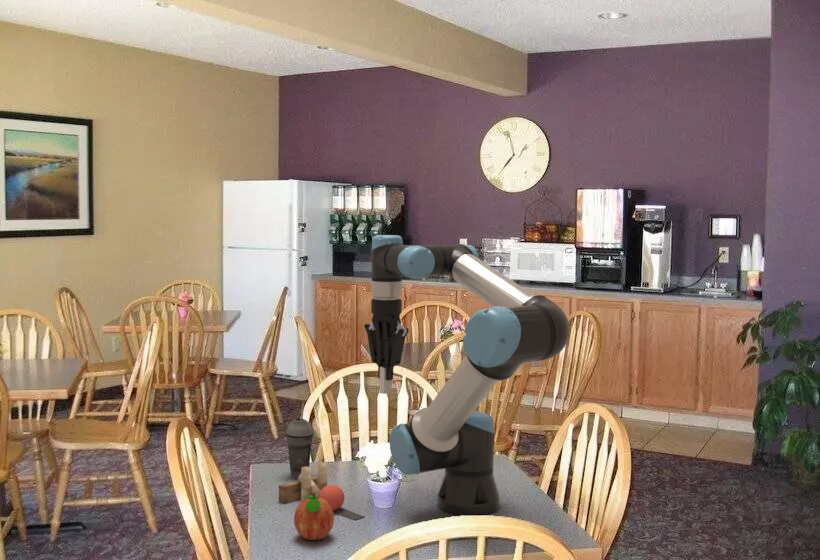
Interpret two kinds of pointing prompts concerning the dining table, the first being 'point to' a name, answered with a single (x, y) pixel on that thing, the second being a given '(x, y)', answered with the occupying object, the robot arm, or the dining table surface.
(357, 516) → the dark grey flat bar
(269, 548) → the dining table surface
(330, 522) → the fruit
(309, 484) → the pin
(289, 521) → the dining table surface
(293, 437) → the beverage cup
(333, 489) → the ball
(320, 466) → the pin
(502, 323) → the robot arm
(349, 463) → the dining table surface
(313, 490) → the pin front
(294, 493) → the back rail
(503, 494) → the dining table surface
